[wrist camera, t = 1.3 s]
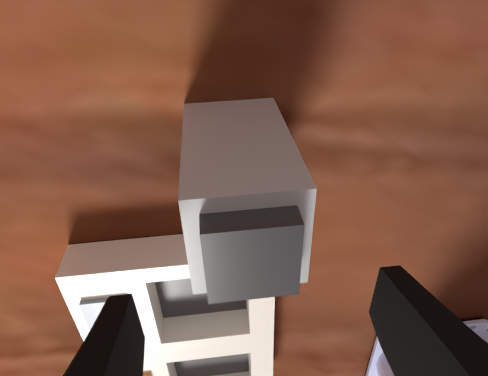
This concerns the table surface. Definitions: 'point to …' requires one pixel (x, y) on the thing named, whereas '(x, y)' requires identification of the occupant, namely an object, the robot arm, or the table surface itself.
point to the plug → (244, 201)
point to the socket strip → (168, 308)
